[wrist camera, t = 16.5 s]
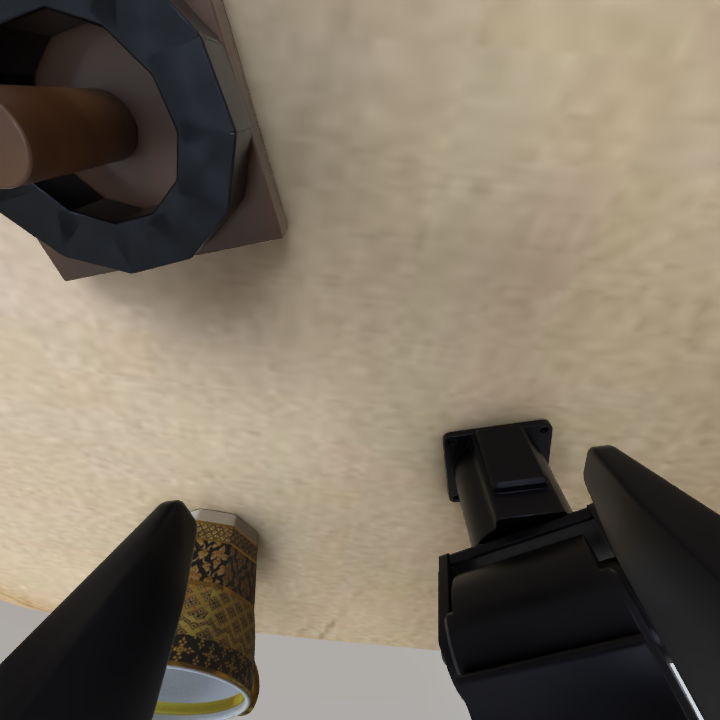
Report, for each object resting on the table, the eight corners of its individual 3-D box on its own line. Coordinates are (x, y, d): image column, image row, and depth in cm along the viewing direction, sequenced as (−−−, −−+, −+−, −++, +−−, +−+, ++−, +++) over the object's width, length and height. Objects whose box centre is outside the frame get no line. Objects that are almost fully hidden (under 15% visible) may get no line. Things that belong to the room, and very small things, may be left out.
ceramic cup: (120, 520, 29) (26, 686, 21) (223, 477, 27) (162, 649, 18) (231, 593, 36) (192, 743, 27) (323, 565, 33) (312, 722, 25)
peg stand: (288, 228, 17) (252, 294, 11) (84, 269, 18) (-45, 349, 12) (192, -104, 12) (28, -303, 6) (-92, -17, 13) (-471, -115, 7)
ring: (285, 220, 16) (275, 237, 14) (89, 272, 17) (56, 294, 15) (171, -106, 11) (133, -148, 9) (-94, 1, 12) (-177, -17, 10)
